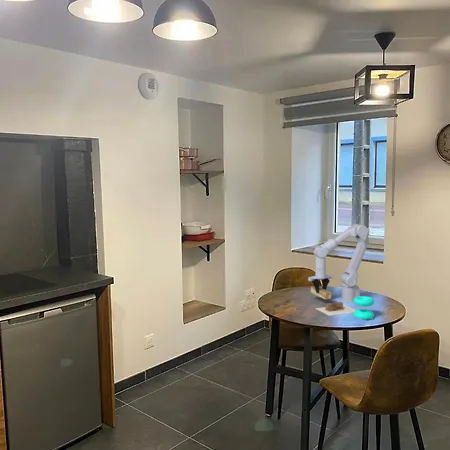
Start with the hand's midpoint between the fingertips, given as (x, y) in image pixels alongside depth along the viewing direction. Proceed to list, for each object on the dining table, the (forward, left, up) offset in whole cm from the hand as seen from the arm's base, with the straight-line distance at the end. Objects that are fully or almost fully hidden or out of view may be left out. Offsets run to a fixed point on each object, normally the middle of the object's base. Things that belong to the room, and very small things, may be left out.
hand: (320, 292), depth 260 cm
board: (0, +17, -6) cm, 18 cm away
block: (+1, +16, -6) cm, 17 cm away
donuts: (-6, +32, -6) cm, 33 cm away
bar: (0, 0, -2) cm, 2 cm away
